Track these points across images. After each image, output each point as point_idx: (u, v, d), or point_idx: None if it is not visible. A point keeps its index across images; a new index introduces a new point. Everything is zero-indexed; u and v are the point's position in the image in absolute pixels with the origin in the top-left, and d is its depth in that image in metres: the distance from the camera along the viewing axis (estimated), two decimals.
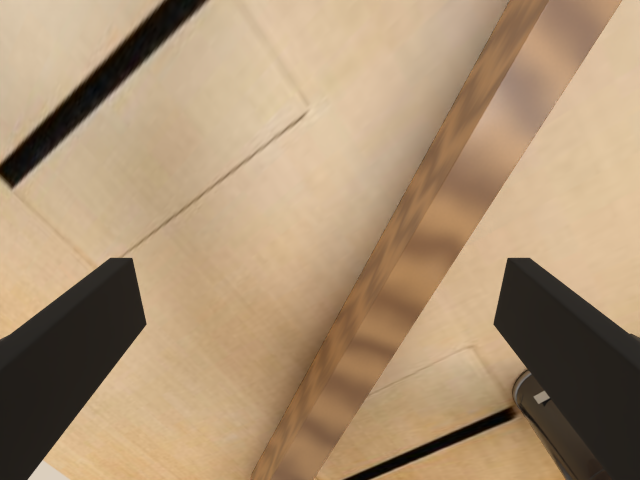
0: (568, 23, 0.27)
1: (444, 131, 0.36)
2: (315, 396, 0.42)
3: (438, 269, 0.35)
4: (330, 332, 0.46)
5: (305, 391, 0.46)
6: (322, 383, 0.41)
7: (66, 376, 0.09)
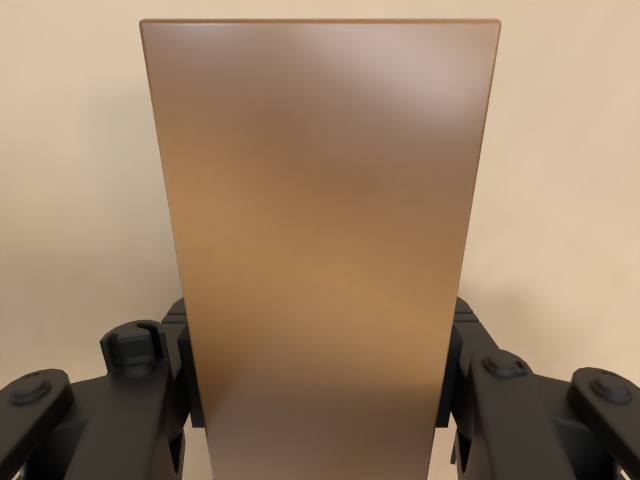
0: None
1: None
2: None
3: None
4: None
5: None
6: None
7: None
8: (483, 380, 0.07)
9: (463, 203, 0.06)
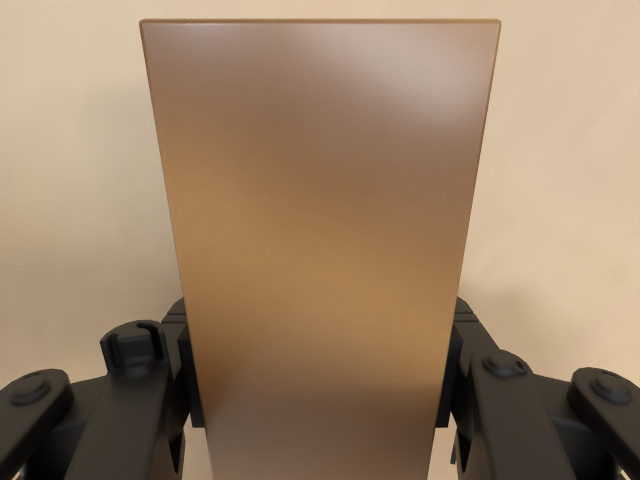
0: None
1: None
2: None
3: None
4: None
5: None
6: None
7: None
8: (483, 380, 0.07)
9: (463, 203, 0.06)
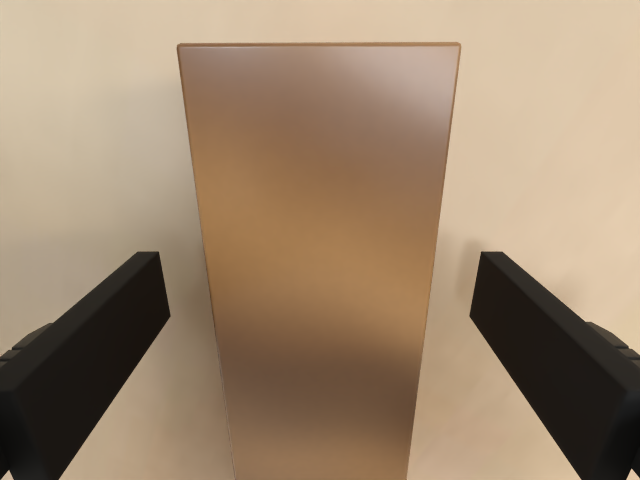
0: None
1: None
2: None
3: None
4: None
5: None
6: None
7: (104, 362, 0.10)
8: None
9: (435, 188, 0.07)
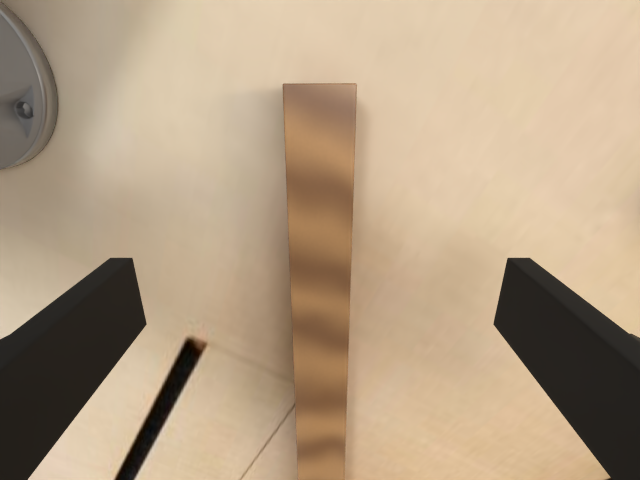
0: (317, 275, 0.29)
1: None
2: None
3: (335, 460, 0.37)
4: None
5: None
6: None
7: (66, 376, 0.09)
8: None
9: (352, 123, 0.25)
